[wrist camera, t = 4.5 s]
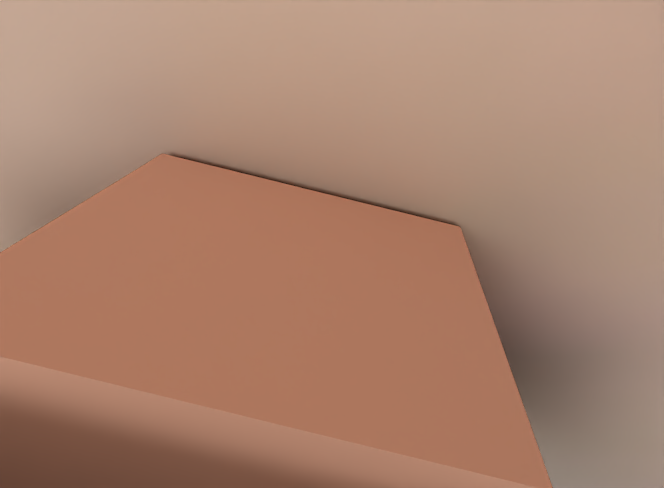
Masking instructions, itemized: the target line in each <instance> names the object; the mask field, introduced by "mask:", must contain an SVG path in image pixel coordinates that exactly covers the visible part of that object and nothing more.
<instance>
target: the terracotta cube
mask: <svg viewBox="0 0 664 488" xmlns="http://www.w3.org/2000/svg"><path fill="white" fill-rule="evenodd" d="M0 488H553V487H552V484H551V482H550V479H549V476H548V473H547V470H546V468H545V465H544V462H543V459H542V456H541V453H540V451H539V448H538V445H537V442H536V439H535V437H534V434H533V431H532V428H531V425H530V422H529V420H528V417H527V414H526V411H525V408H524V405H523V403H522V400H521V397H520V394H519V391H518V389H517V386H516V383H515V380H514V377H513V374H512V372H511V369H510V366H509V363H508V360H507V357H506V355H505V352H504V349H503V346H502V343H501V341H500V338H499V335H498V332H497V329H496V326H495V324H494V321H493V318H492V315H491V312H490V309H489V307H488V304H487V301H486V298H485V295H484V293H483V290H482V287H481V284H480V281H479V278H478V276H477V273H476V270H475V267H474V264H473V262H472V259H471V256H470V253H469V250H468V247H467V245H466V242H465V239H464V236H463V233H462V230H461V228H460V227H459V226H455V225H451V224H447V223H443V222H439V221H435V220H431V219H426V218H422V217H418V216H414V215H410V214H406V213H402V212H398V211H394V210H390V209H386V208H382V207H378V206H374V205H370V204H365V203H361V202H357V201H353V200H349V199H345V198H341V197H337V196H333V195H329V194H325V193H321V192H317V191H313V190H309V189H304V188H300V187H296V186H292V185H288V184H284V183H280V182H276V181H272V180H268V179H264V178H260V177H256V176H252V175H248V174H244V173H239V172H235V171H231V170H227V169H223V168H219V167H215V166H211V165H207V164H203V163H199V162H195V161H191V160H187V159H183V158H178V157H174V156H170V155H166V154H161V155H159V156H158V157H156V158H154V159H153V160H151V161H149V162H148V163H146V164H145V165H143V166H141V167H140V168H138V169H136V170H135V171H133V172H131V173H130V174H128V175H127V176H125V177H123V178H122V179H120V180H118V181H117V182H115V183H113V184H112V185H110V186H109V187H107V188H105V189H104V190H102V191H100V192H99V193H97V194H95V195H94V196H92V197H91V198H89V199H87V200H86V201H84V202H82V203H81V204H79V205H77V206H76V207H74V208H72V209H71V210H69V211H68V212H66V213H64V214H63V215H61V216H59V217H58V218H56V219H54V220H53V221H51V222H50V223H48V224H46V225H45V226H43V227H41V228H40V229H38V230H36V231H35V232H33V233H32V234H30V235H28V236H27V237H25V238H23V239H22V240H20V241H18V242H17V243H15V244H13V245H12V246H10V247H9V248H7V249H5V250H4V251H2V252H0Z"/></svg>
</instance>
